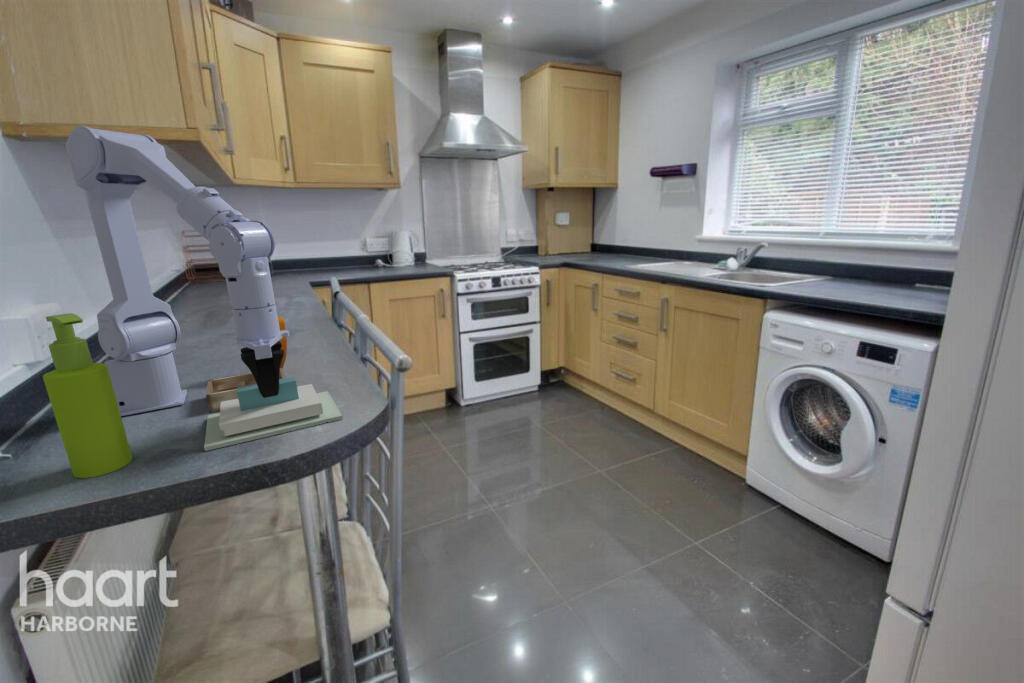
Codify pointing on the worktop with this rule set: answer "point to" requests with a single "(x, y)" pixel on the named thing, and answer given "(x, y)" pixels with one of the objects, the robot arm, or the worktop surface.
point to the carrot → (283, 339)
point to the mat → (217, 441)
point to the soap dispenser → (84, 404)
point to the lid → (268, 407)
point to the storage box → (228, 388)
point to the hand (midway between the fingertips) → (269, 393)
